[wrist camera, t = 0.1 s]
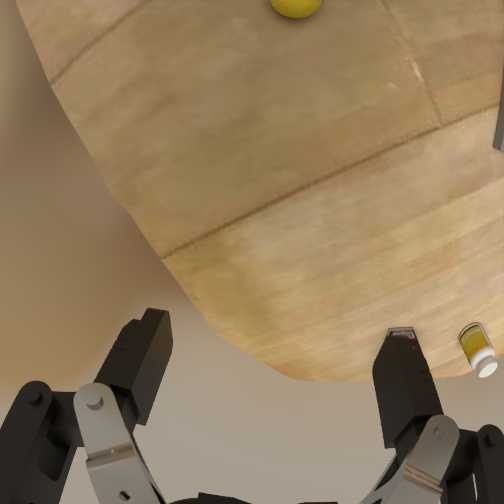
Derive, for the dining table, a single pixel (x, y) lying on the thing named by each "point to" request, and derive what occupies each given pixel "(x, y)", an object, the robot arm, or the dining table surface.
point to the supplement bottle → (478, 349)
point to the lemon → (296, 7)
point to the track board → (500, 124)
